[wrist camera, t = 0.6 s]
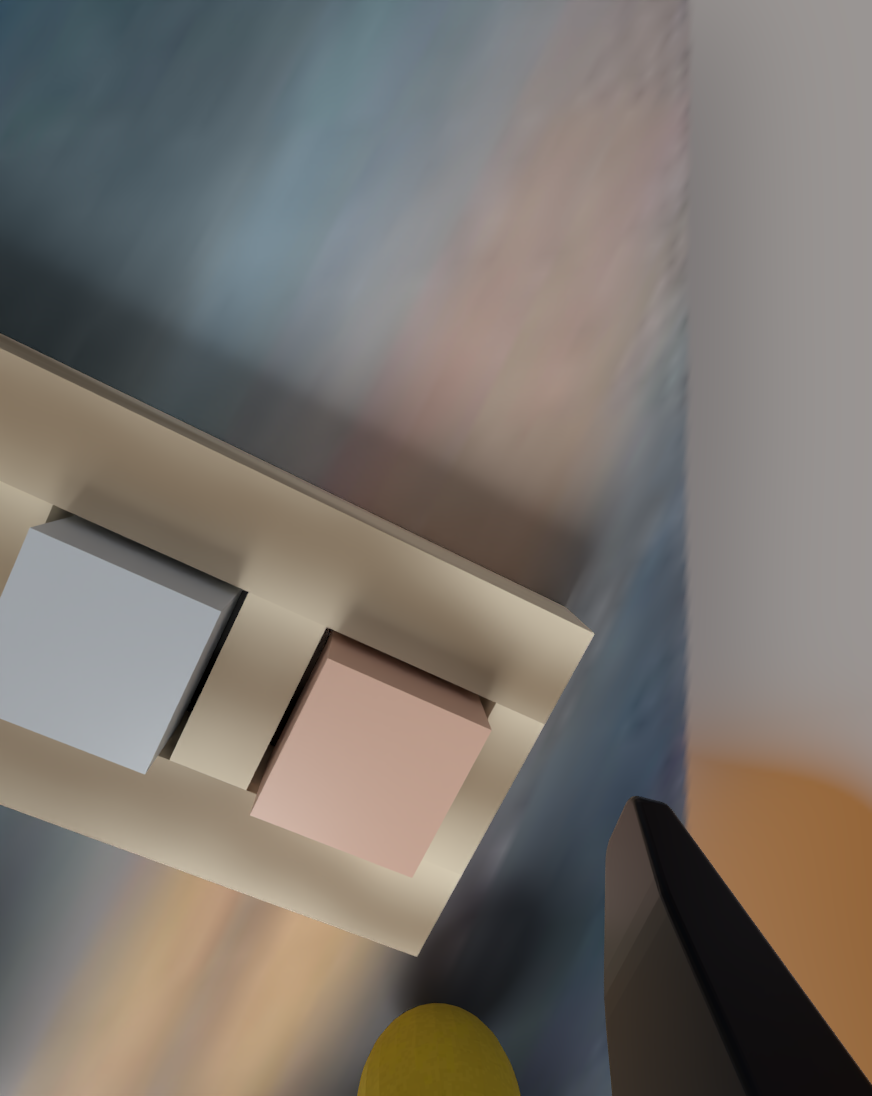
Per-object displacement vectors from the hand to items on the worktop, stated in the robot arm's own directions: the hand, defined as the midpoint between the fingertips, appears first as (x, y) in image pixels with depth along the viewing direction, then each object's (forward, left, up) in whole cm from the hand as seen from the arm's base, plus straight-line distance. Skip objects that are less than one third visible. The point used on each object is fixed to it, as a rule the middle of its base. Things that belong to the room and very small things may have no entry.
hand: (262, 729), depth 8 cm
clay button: (-4, -4, -12) cm, 13 cm away
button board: (-4, +4, -13) cm, 15 cm away
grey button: (-4, +4, -12) cm, 13 cm away
